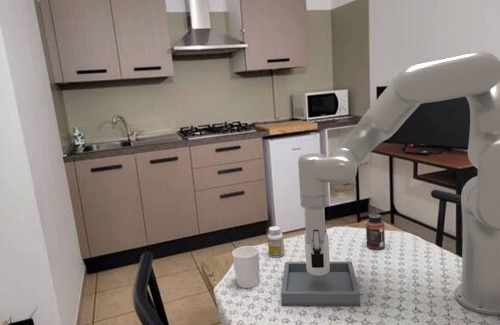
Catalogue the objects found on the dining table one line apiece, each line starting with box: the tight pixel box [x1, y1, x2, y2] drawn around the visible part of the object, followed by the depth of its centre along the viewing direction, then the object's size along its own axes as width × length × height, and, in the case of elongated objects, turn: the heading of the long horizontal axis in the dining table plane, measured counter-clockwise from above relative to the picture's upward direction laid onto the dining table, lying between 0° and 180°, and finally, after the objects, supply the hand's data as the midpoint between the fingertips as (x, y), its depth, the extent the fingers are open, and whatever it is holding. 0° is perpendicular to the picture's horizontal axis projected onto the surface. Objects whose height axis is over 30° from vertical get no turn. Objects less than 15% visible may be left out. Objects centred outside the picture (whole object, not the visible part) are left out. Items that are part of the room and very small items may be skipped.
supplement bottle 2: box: [365, 213, 386, 251], centre depth 125 cm, size 6×6×11 cm
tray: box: [280, 260, 361, 307], centre depth 102 cm, size 20×18×4 cm
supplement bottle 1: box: [267, 225, 285, 258], centre depth 126 cm, size 5×5×10 cm
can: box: [304, 228, 331, 276], centre depth 101 cm, size 6×6×12 cm
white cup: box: [231, 245, 260, 289], centre depth 108 cm, size 8×8×10 cm
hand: (317, 261), depth 101 cm, fingers closed on can, 5 cm apart
